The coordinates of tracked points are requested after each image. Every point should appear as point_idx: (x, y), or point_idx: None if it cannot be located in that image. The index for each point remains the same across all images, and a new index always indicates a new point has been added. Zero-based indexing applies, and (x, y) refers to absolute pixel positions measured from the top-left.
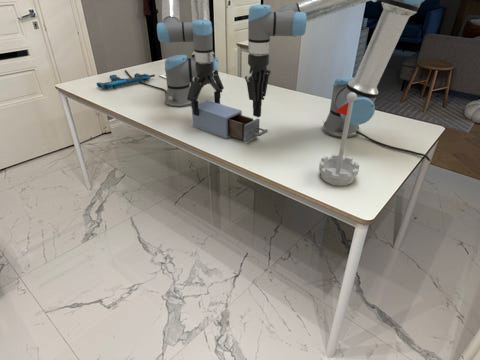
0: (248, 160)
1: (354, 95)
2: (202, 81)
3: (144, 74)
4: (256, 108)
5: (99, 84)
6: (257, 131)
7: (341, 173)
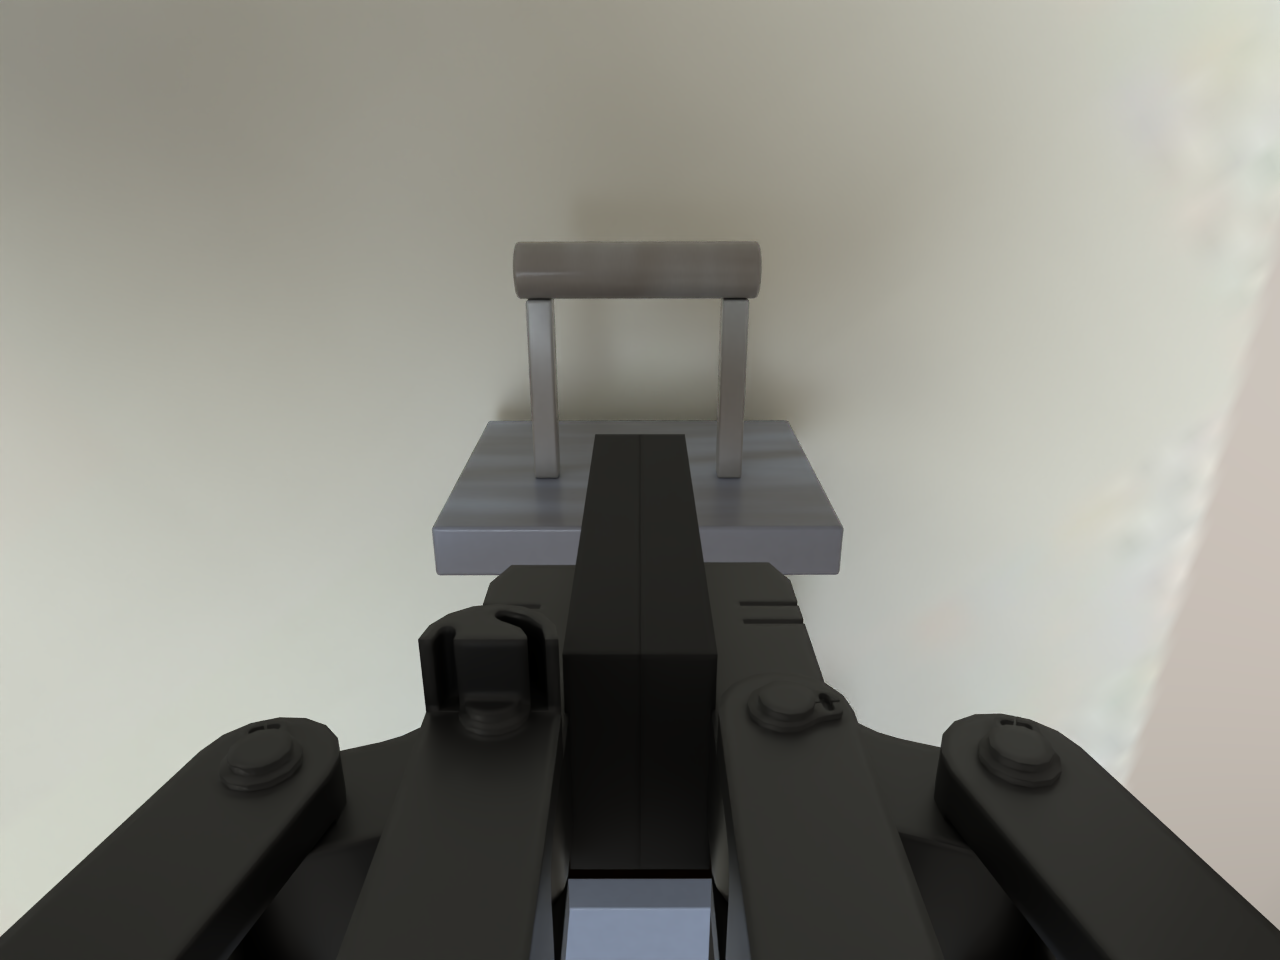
0: (1135, 109)
1: None
2: None
3: None
4: (746, 572)
5: None
6: (520, 446)
7: None
